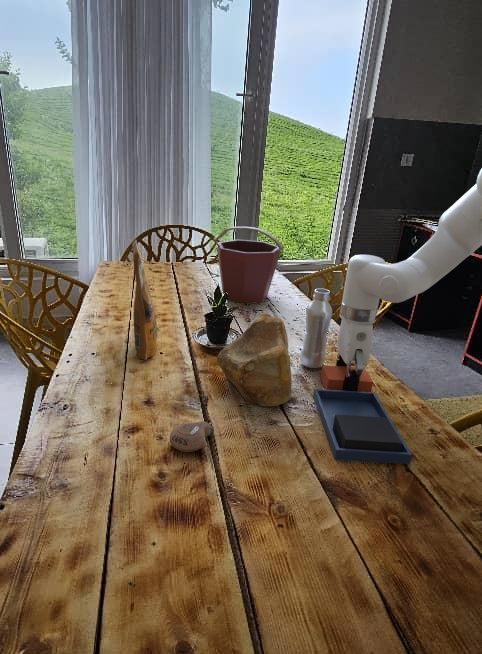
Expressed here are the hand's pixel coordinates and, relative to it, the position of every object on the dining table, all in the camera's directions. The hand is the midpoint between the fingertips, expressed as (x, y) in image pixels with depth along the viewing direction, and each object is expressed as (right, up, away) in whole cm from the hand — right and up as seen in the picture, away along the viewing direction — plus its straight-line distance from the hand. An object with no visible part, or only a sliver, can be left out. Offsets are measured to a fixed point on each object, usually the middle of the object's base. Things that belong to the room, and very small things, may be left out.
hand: (345, 382), depth 104 cm
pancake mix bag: (-49, +7, +16) cm, 52 cm away
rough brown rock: (-22, -1, -1) cm, 22 cm away
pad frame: (-3, -7, -15) cm, 17 cm away
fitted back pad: (-3, -9, -21) cm, 23 cm away
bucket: (-18, +24, +61) cm, 68 cm away
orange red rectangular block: (0, -1, 0) cm, 1 cm away
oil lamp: (-35, -9, -22) cm, 42 cm away
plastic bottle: (-6, +3, +10) cm, 12 cm away
